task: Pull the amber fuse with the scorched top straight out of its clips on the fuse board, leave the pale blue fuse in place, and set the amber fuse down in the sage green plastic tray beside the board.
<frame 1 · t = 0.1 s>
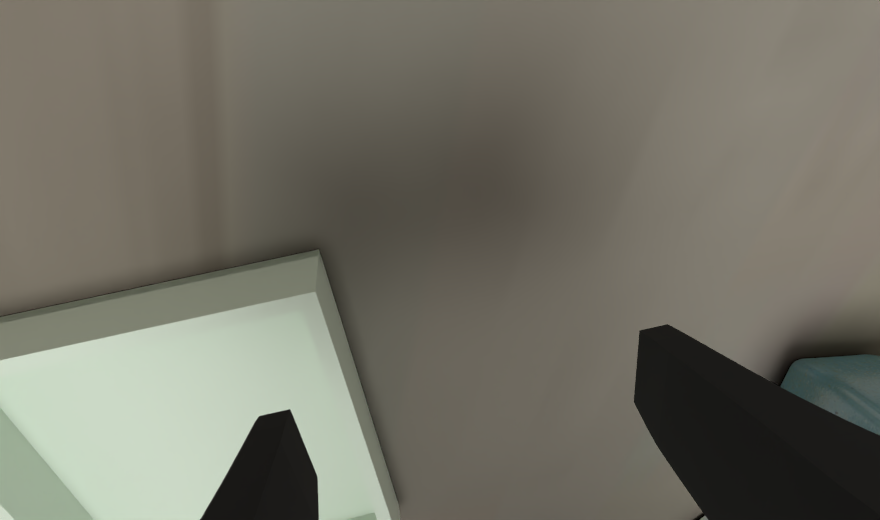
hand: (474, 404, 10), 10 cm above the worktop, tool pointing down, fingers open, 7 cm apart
flower pot: (809, 386, 29), on the worktop
parts tray: (212, 435, 23), on the worktop
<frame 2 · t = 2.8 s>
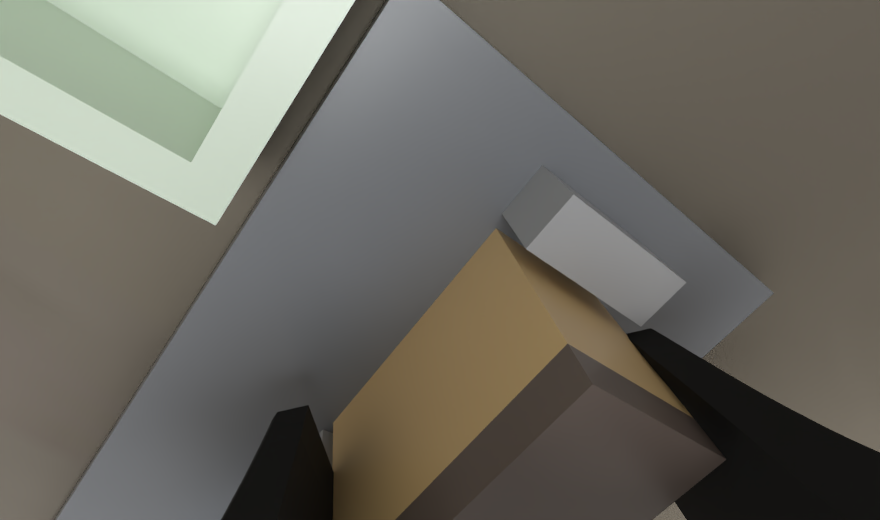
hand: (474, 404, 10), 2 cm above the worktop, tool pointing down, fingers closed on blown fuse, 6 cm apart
fuse board: (331, 487, 14), on the worktop
blown fuse: (460, 360, 12), resting on fuse board, touching gripper
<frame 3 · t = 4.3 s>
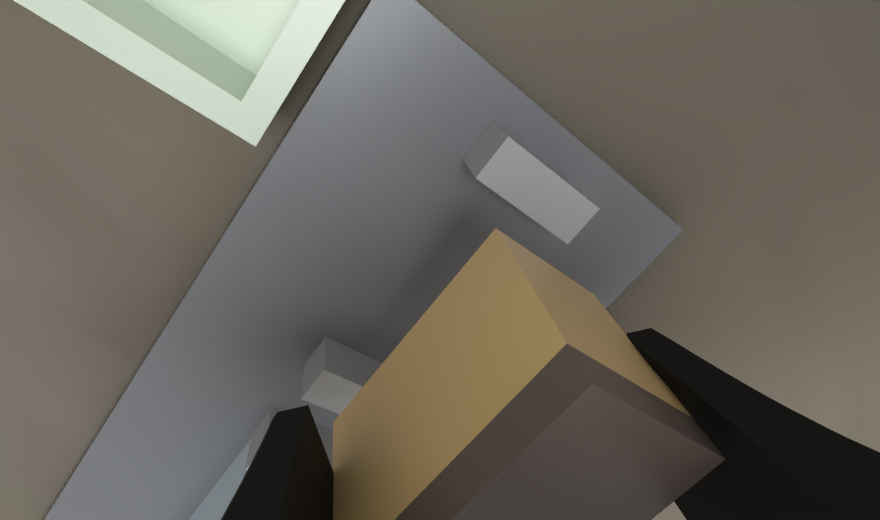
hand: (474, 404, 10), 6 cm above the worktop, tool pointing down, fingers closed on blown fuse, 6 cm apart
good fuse: (248, 505, 18), resting on fuse board
fuse board: (332, 393, 17), on the worktop
blown fuse: (460, 359, 12), point 4 cm above the worktop, touching gripper
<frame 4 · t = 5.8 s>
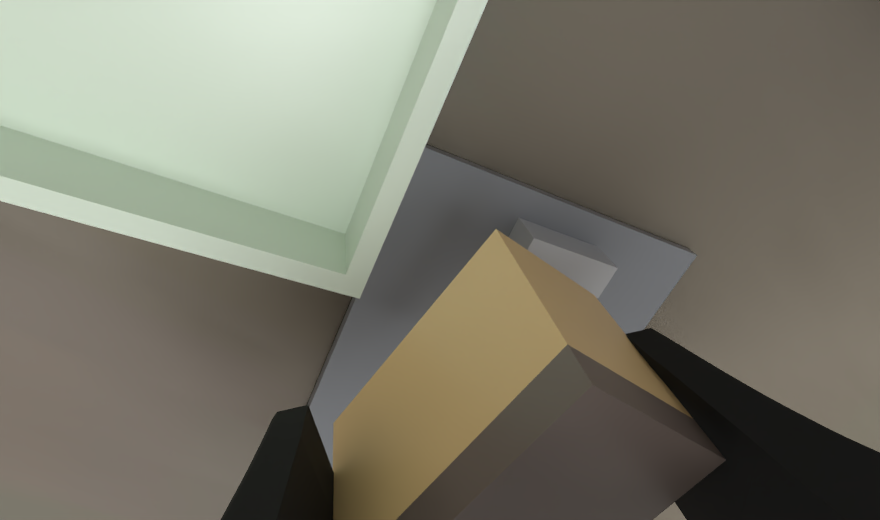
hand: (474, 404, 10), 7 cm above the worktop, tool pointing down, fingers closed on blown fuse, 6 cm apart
fuse board: (436, 430, 21), on the worktop
blown fuse: (460, 360, 12), point 6 cm above the worktop, touching gripper
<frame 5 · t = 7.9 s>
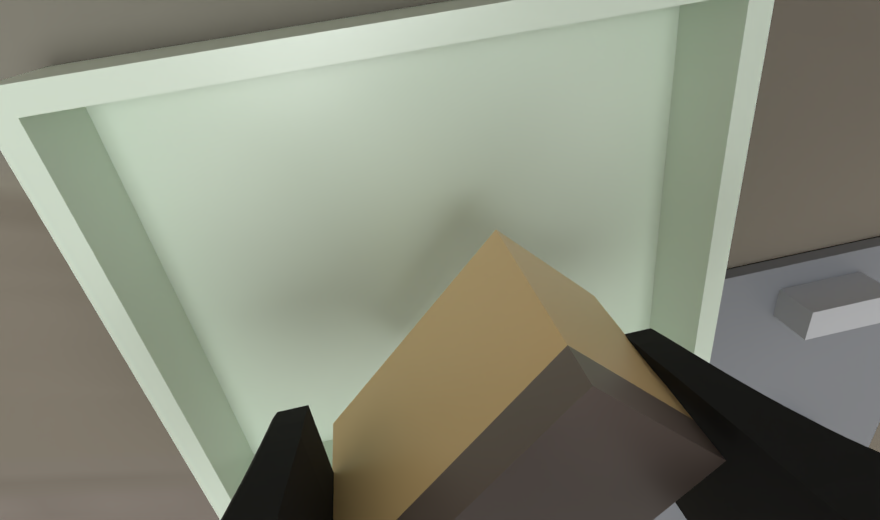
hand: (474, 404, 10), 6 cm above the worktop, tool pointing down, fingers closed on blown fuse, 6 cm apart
fuse board: (760, 450, 24), on the worktop
parts tray: (429, 256, 16), on the worktop
blown fuse: (460, 361, 12), point 5 cm above the worktop, touching gripper
when the fingers open (3 cm above the worktop, at t = 9.2 s): blown fuse stays where it is, resting on parts tray.
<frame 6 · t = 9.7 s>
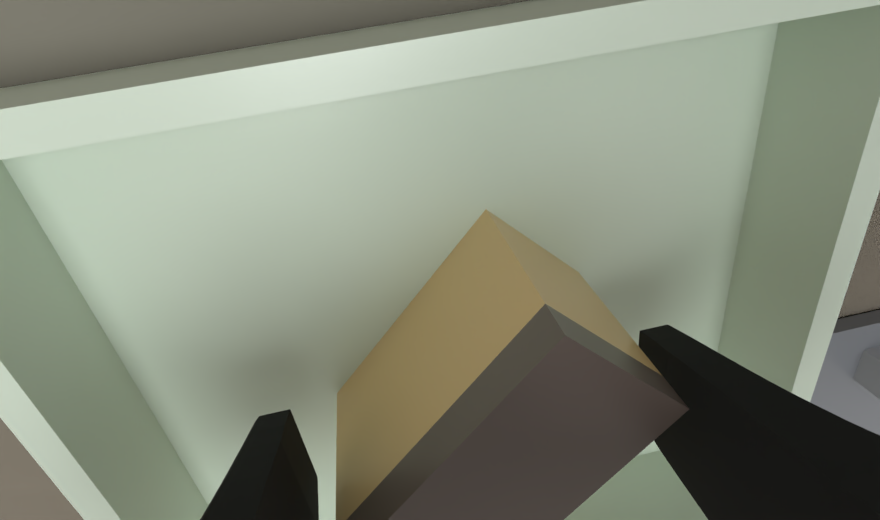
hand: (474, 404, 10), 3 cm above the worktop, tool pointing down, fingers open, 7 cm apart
fuse board: (819, 517, 21), on the worktop
parts tray: (448, 321, 13), on the worktop
blown fuse: (455, 334, 12), resting on parts tray
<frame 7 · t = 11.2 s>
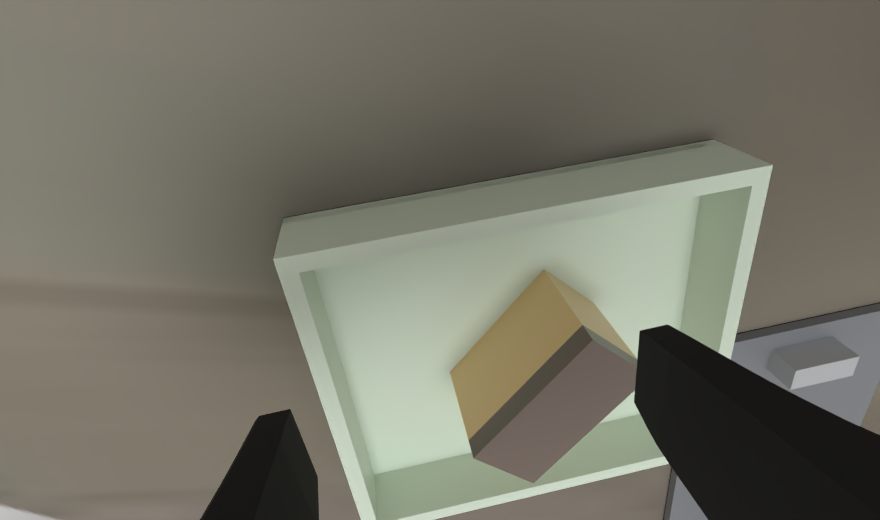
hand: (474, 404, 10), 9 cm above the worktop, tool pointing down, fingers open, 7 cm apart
fuse board: (755, 468, 30), on the worktop
parts tray: (515, 330, 22), on the worktop
blown fuse: (520, 337, 21), resting on parts tray
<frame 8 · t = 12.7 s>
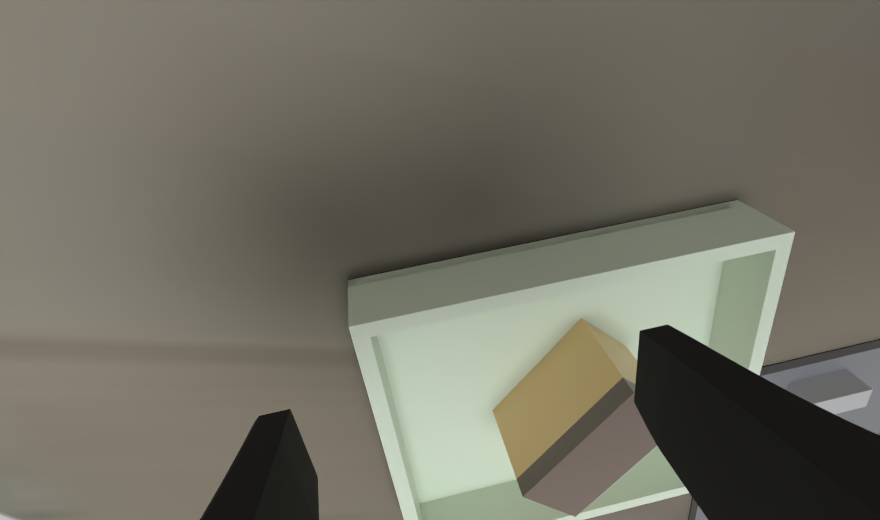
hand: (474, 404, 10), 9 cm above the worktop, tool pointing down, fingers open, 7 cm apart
fuse board: (773, 488, 31), on the worktop
parts tray: (553, 371, 23), on the worktop
blown fuse: (558, 378, 23), resting on parts tray
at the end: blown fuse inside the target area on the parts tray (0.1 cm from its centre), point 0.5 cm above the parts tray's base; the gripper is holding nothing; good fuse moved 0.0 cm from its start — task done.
